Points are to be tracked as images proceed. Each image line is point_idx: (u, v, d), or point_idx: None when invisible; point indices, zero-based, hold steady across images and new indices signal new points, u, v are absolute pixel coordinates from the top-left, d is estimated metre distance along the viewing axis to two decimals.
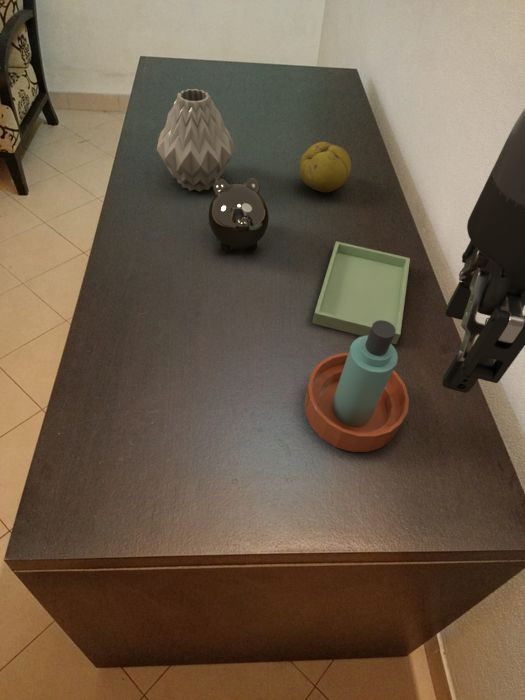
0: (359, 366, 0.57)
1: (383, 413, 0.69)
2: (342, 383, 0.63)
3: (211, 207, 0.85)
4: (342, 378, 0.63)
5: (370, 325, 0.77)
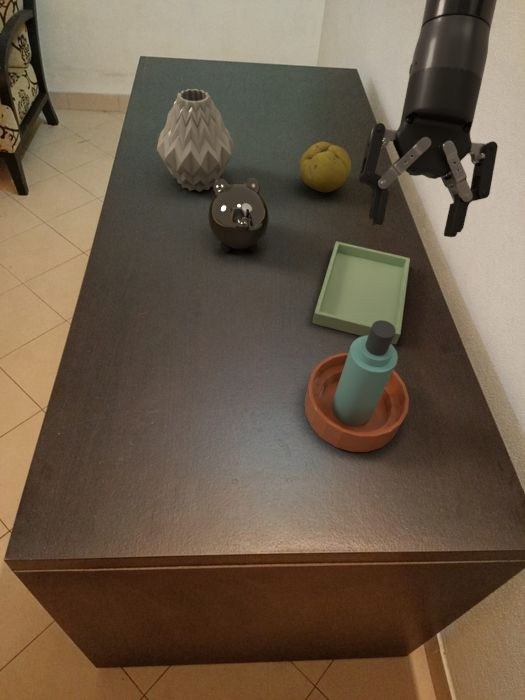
0: (359, 366, 0.57)
1: (383, 413, 0.69)
2: (342, 383, 0.63)
3: (211, 207, 0.85)
4: (342, 378, 0.63)
5: (370, 325, 0.77)
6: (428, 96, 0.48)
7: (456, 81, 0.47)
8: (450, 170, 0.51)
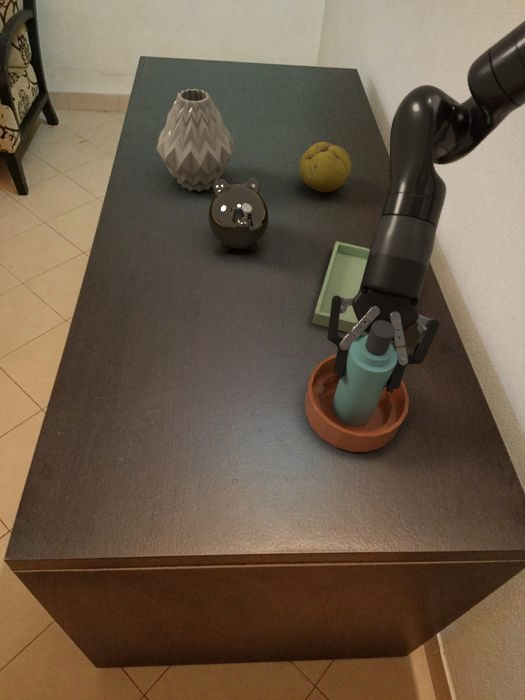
0: (359, 366, 0.57)
1: (383, 413, 0.69)
2: (341, 383, 0.63)
3: (211, 207, 0.85)
4: (342, 378, 0.63)
5: None
6: (377, 276, 0.57)
7: (399, 267, 0.56)
8: None
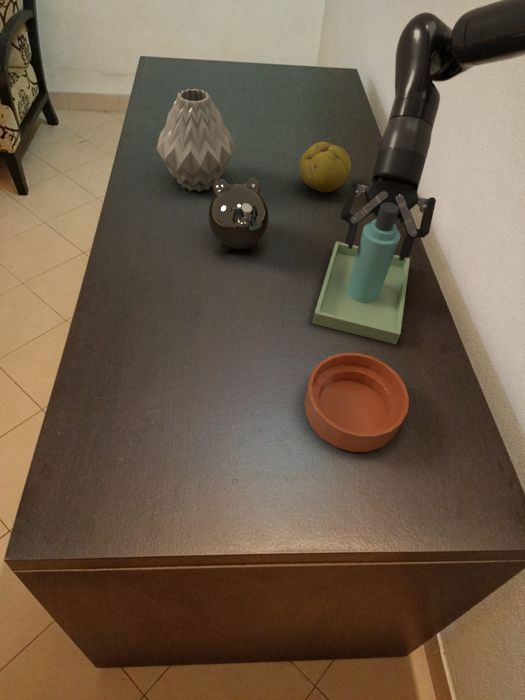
0: (371, 240, 0.74)
1: (383, 413, 0.69)
2: (356, 262, 0.79)
3: (211, 207, 0.85)
4: (356, 258, 0.79)
5: (370, 325, 0.77)
6: (385, 165, 0.73)
7: (403, 156, 0.71)
8: (401, 214, 0.74)
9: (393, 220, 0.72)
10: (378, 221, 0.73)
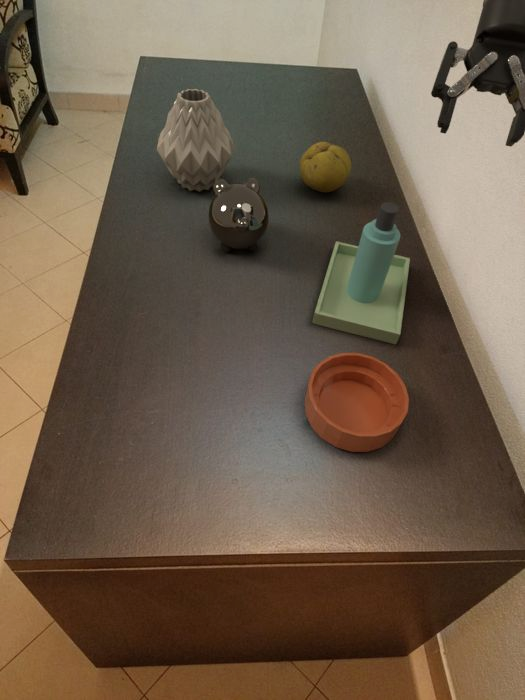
0: (371, 240, 0.74)
1: (383, 413, 0.69)
2: (356, 262, 0.79)
3: (211, 207, 0.85)
4: (356, 258, 0.79)
5: (370, 325, 0.77)
6: (497, 15, 0.57)
7: (522, 1, 0.56)
8: (514, 82, 0.59)
9: (393, 220, 0.72)
10: (378, 221, 0.73)
